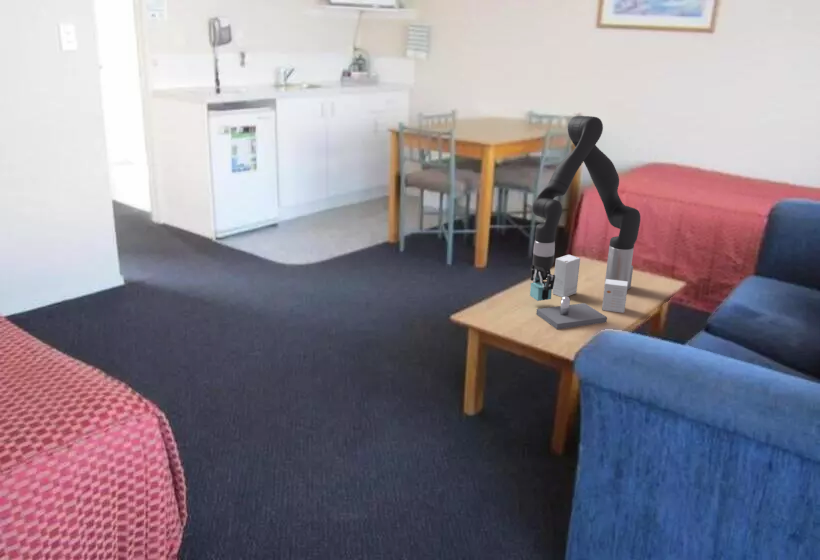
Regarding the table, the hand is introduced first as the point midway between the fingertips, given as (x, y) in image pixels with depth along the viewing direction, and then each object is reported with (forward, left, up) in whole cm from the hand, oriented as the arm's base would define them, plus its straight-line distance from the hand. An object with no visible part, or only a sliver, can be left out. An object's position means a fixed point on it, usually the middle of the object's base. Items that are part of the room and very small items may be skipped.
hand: (540, 296), depth 252 cm
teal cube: (0, 0, 0) cm, 0 cm away
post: (-2, +14, -2) cm, 14 cm away
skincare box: (-16, -8, -4) cm, 18 cm away
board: (-5, +14, -4) cm, 15 cm away
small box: (-25, +11, -4) cm, 27 cm away
